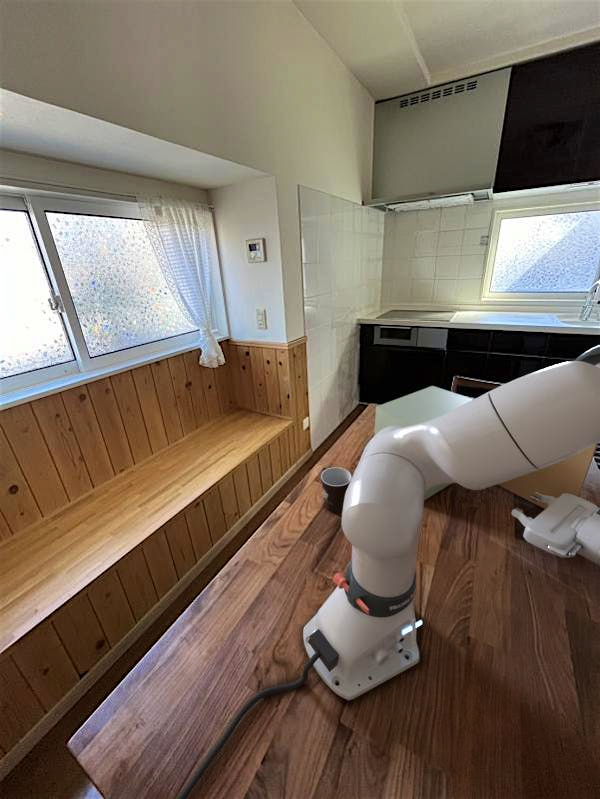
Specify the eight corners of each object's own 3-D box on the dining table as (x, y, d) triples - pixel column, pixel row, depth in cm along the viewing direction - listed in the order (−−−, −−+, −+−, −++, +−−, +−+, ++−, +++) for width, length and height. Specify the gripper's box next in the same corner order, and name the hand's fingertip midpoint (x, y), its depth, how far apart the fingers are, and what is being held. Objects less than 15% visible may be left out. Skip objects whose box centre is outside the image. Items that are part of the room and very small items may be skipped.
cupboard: (471, 471, 109) (484, 402, 99) (417, 504, 96) (426, 429, 86) (425, 447, 123) (432, 385, 113) (372, 474, 110) (375, 406, 100)
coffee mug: (353, 514, 93) (353, 485, 89) (322, 515, 94) (321, 486, 90) (348, 487, 104) (348, 460, 100) (320, 488, 104) (319, 461, 100)
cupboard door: (484, 465, 111) (498, 398, 101) (580, 510, 91) (609, 432, 81) (472, 472, 108) (486, 404, 98) (568, 521, 87) (597, 441, 78)
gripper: (565, 572, 69) (498, 531, 79) (604, 528, 79) (539, 496, 89) (574, 550, 66) (503, 510, 77) (613, 507, 76) (545, 477, 87)
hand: (523, 502), depth 83 cm, fingers open, 8 cm apart
